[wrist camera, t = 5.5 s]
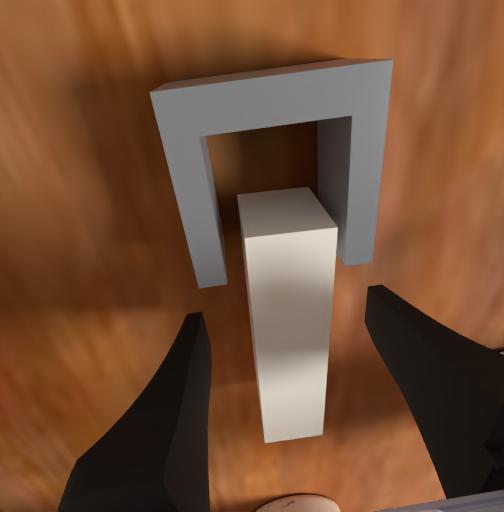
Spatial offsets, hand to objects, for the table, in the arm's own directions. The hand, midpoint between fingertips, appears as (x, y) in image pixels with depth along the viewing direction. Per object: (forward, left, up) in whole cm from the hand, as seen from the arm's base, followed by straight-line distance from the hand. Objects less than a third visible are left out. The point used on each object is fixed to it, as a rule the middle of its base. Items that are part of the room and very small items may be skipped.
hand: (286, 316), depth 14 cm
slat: (0, +1, -3) cm, 3 cm away
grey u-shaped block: (0, -6, -2) cm, 7 cm away
